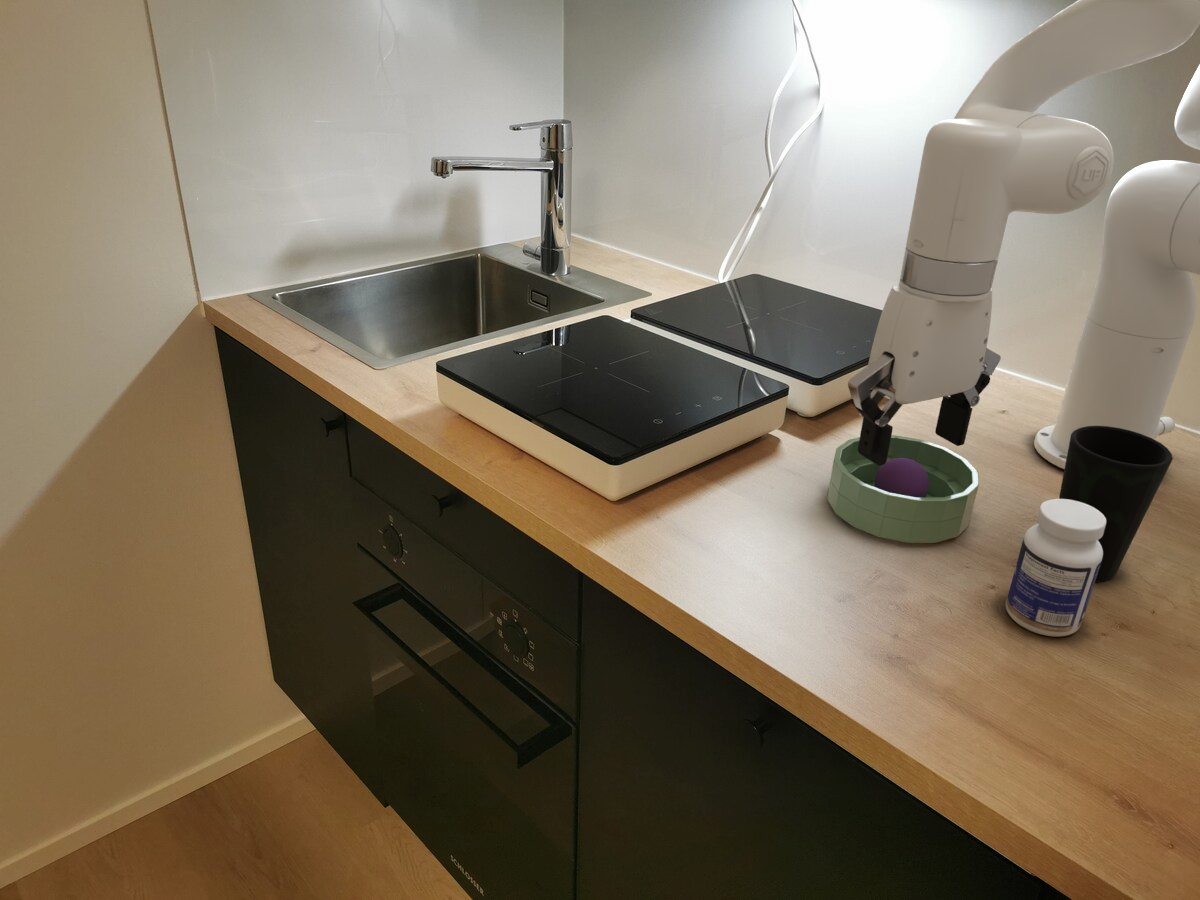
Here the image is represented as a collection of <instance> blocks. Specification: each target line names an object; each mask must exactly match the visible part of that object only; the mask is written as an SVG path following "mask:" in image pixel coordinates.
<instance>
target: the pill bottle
mask: <svg viewBox="0 0 1200 900" xmlns="http://www.w3.org/2000/svg"><path fill="white" fill-rule="evenodd" d="M1036 522H1037V523H1036V524H1034V525H1033V526H1030V528H1028V529H1027V530H1026V532H1025V534H1024V536H1023V539H1022V542H1021V545H1020V550H1019V554H1018V557H1017V560H1016V564H1015V567H1014V572H1013V575H1012V579H1011V582H1010V586H1009V589H1008V593H1007V596H1006V600H1005V610H1006V611H1007V614H1008V615H1009V617H1010V618H1011V619H1012V620H1013V621H1014V622H1016V624H1018V625H1019V626H1021V627H1022V628H1023V629H1025V630H1028V631H1030V632H1032V633H1035V634H1037V635H1038V634H1039V635H1042V636H1047V637H1067V636H1070V635H1072V634H1074V633H1076V632H1077V631H1078V630H1079V629H1080V627H1081V626H1082V623H1083V620H1084V617H1085V614H1086V611H1087V608H1088V605H1089V602H1090V599H1091V595H1092V593H1093V589H1094V586H1095V583H1096V582H1095V580H1096V577H1097V574H1098V571H1099V568H1100V565H1101V561H1102V557H1103V549H1102V546H1101V544H1100V543H1099V541H1098V540H1099V539H1100V538H1101V537H1102V536H1103V533H1104V529H1105V526H1106V518H1105V516H1104V515H1103V514H1102V513H1101V512H1100V511H1098V510H1097V509H1095V508H1094V507H1092V506H1090V505H1087V504H1085V503H1082V502H1078V501H1074V500H1069V499H1059V498H1052V499H1048V500H1045V501H1043V502H1042V503H1041V504H1040V506H1039V509H1038V512H1037V515H1036Z"/></svg>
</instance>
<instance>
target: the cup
mask: <svg viewBox="0 0 1200 900" xmlns="http://www.w3.org/2000/svg"><path fill="white" fill-rule="evenodd" d="M1173 459H1174V458H1173V454H1172V452H1171V451H1170V450H1169V448H1168V447H1167V446H1165V445H1164V444H1163V443H1162V442H1159V441H1158V440H1156V439H1152V438H1150V437H1148V436H1145V435H1143V434H1140V433H1137V432H1133V431H1130V430H1126V429H1122V428H1116V427H1109V426H1086V427H1081V428H1079V429H1077V430H1075V431H1073V433H1072V434H1071V437H1070V442H1069V448H1068V453H1067V458H1066V464H1065V469H1063V475H1062V479H1061V480H1062V481H1061V485H1060V491H1059V496H1058V499H1069V500H1074V501H1078V502H1082V503H1085V504H1087V505H1090V506H1092V507H1094V508H1095V509H1097V510H1098V511H1100V512H1101V513H1102V514H1103V515H1104V516H1105V518H1106V526H1105V529H1104V533H1103V536H1102V537H1101V538H1100V539H1099V540H1098V541H1099V543H1100V544H1101V546H1102V549H1103V557H1102V561H1101V565H1100V568H1099V571H1098V574H1097V577H1096V580H1095V583H1104V582H1108V581H1111V580H1112V579H1114V578H1115V577H1116V575H1117V573H1118V570H1119V569H1120V567H1121V564H1122V563H1123V561H1124V558H1125V556H1126V554H1127V552H1128V551H1129V549H1130V546H1131V544H1132V542H1133V540H1134V539H1135V536H1136V534H1137V532H1138V530H1139V529H1140V526H1141V524H1142V522H1143V520H1144V519H1145V517H1146V514H1147V512H1148V510H1149V508H1150V506H1151V504H1152V502H1153V500H1154V498H1155V496H1156V494H1157V492H1158V490H1159V488H1160V486H1161V484H1162V483H1163V479H1164V478H1165V476H1166V474H1167V471H1168V470H1169V467H1171V464H1172V462H1173Z"/></svg>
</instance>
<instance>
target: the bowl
mask: <svg viewBox="0 0 1200 900" xmlns="http://www.w3.org/2000/svg"><path fill="white" fill-rule="evenodd" d="M859 440H860V436H859V437H854V438H850V439H848V440H846V441H844V443H842V444H840V445H839V446H838V447H836V449H835V453H834V457H833V462H832V467H831V468H832V469H831V473H830V474H831V475H830V480H829V485H828V492H827V496H826V500H827V501H828V503H829V505H830V507H831V509H832V511H833V512H834V513H835V515H837V516H838V517H840V519H842V520H844V521H845V522H846V523H847V524H849V525H851V526H852V527H854V528H855V529H857V530H860V531H863V532H865V533H867V534H870V535H872V536H875V537H877V538H882V539H887V540H891V541H896V542H903V543H907V544H908V543H909V544H929V543H930V544H932V543H933V544H934V543H935V544H936V543H940V542H943V541H947V540H950V539H951V540H952V539H954V538H957V537H959V536H960V535H961V534H962V533H963V532H964V531H965V530H966V529H967V528H968V527H969V525H970V522H971V518H972V514H973V510H974V506H975V502H976V498H977V495H978V491H979V487H980V480H979V472H978V470H977V468H975V467H974V466H973V465H972V464H971V463H970V461H969V460H968V459H966V458H965V457H963V456H961V455H959V454H958V453H956V452H955V451H952V450H950V449H949V448H947V447H945V446H942V445H939V444H935V443H933V442H929V441H927V440H923V439H920V438H914V437H908V436H902V435H895V434H892V435H891V440H890V446H889V451H888V456H887V461H886V462H888V461H889V460H892V459H895V458H908V459H911V460H914V461H916V462H917V463H919V464H920V465H921V466H922V467H923V468H924V470H925V471H926V473H927V475H928V479H929V489H928V493H927V495H926V497H925V498H917V497H911V496H906V495H900V494H895V493H889V492H887V491H884V490H881V489H879V488H876V487H875V477H876V474H877V472H878V470H879V469H880V467H881V466H882V465H880V466H878V465H877V464H875V463H873V462H872V461H870V460H869V459H867V458H866V457H864V456H862V455H861V454H859V452H858V445H859Z"/></svg>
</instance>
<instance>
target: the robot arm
mask: <svg viewBox="0 0 1200 900" xmlns="http://www.w3.org/2000/svg"><path fill="white" fill-rule="evenodd" d="M1199 26H1200V0H1076V1H1075V2H1073V3H1072V4H1070V5H1068V6H1067V7H1065V8H1064V9H1062V10H1060V11H1059V12H1057V13H1056V14H1054V15H1053V16H1052V17H1050V18H1048V19H1047V20H1046V21H1044V22H1043V23H1042V24H1040V25H1038V27H1036V28H1034V29H1033V30H1031V31H1030V32H1029V33H1027V34H1026V35H1024V36H1023V37H1021V38H1020V39H1018V40H1017V41H1016V42H1015V43H1013V44H1011V46H1009V47H1008V48H1007V49H1006V50H1005V51H1004V52H1003V53H1001V54H1000V56H999V57H998V58H997V59H996V60H995V61H994V62H993V63H992V64H991V65H990V66H989V67H988V69H987V70H986V71H985V72H984V73H983V75H982V76H981V78H980V79H979V80H978V82H977V83H976V85H975V86H974V87H973V89H972V90H971V92H970V93H969V94H968V96H967V98H966V99H965V100H964V101H963V103H962V105H961V106H960V108H959V109H958V110H957V112H956V113H955V116H954V117H953V118H951V119H950V118H949V119H945V120H940V121H938V122H936V123H935V124H934V125H933V126H932V127H931V128H930V129H929V131H928V133H927V135H926V137H925V140H924V146H923V150H922V156H921V160H920V167H919V173H918V178H917V183H916V188H915V195H914V201H913V206H912V212H911V216H910V222H909V226H908V228H909V229H908V232H907V238H906V243H905V248H904V255H903V260H902V266H901V271H900V277H899V283H898V284H896V285H893V286H892V287H891V289H890V290H889V293H888V295H887V298H886V300H885V303H884V304H883V305H884V306H883V308H882V311H881V314H880V317H879V320H878V322H877V323H878V324H877V327H876V329H875V334H874V337H873V342H872V346H871V350H870V354H869V359H868V364H867V366H865V367H864V368H862V370H860V371H859V372H857V373H856V374H855V375H854V376H852V377H851V378H850V379H849V380H848V382H847V387H848V391H849V394H850V397H851V399H852V400H851V404H852V405H853V407H854V408H855V409H856V411H857V413H858V415H859V416H861V417H862V423H861V429H860V435H859V437H860V440H859V445H858V452H859V454H861V455H862V456H864V457H866V458H867V459H869V460H870V461H872V462H873V463H875V464H877V465H878V466H880V465H884V464H885V463H886V461H887V456H888V451H889V446H890V440H891V435H893V429H894V428H893V426H892V425H891V424H889V423H890V422H891V420H892V419H893V417H894V416H895V415H896V414H897V412H898V411H899V410H900V409H901V408H902V406H903V405H910V404H911V405H912V404H916V403H920V402H921V403H922V402H925V401H930V400H934V399H939V398H942V400H941V403H940V408H939V411H938V416H937V421H936V425H935V430H934V432H935V435H937V436H938V437H940V438H942V439H944V440H945V441H947V442H949V443H951V444H953V445H955V446H957V447H960V446H964V445H965V441H966V439H967V438H966V437H967V434H968V430H969V425H970V421H971V417H972V412H973V408H974V407H977V405H978V404H979V402H980V401H981V397H980V395H981V393H982V392H983V391H984V390H985V389H986V388H987V387H988V385H989V384H990V382H991V376H992V375H993V374H994V372H995V370H996V368H997V367H998V365H999V364H1000V361H1001V360H1002V359H1001V355H1000V354H998V353H996V352H995V351H993V350H991V349H989V348H987V347H988V341H989V334H990V328H991V319H992V311H993V308H992V307H993V289H992V287H993V283H994V279H995V275H996V269H997V266H998V263H999V262H998V261H999V257H1000V253H1001V249H1002V244H1003V241H1004V236H1005V233H1006V232H1005V231H1006V227H1007V223H1008V219H1009V215H1010V214H1011V213H1013V212H1021V213H1031V214H1032V213H1033V214H1041V215H1061V214H1066V213H1071V212H1074V211H1076V210H1079V209H1081V208H1083V207H1085V206H1086V205H1088V204H1089V203H1091V202H1092V201H1093V200H1094V199H1096V198H1097V197H1098V196H1099V195H1100V194H1101V193H1102V192H1103V190H1104V189H1105V187H1106V185H1107V184H1108V182H1109V180H1110V178H1111V176H1112V173H1113V169H1114V166H1115V165H1114V162H1115V157H1114V150H1113V146H1112V144H1111V141H1110V140H1109V139H1108V137H1107V136H1106V135H1105V134H1104V132H1102V130H1100V129H1099V128H1097V127H1096V126H1093V125H1092V124H1089V123H1087V122H1085V121H1081V120H1077V119H1073V118H1072V119H1071V118H1066V117H1060V116H1053V115H1048V114H1045V113H1038V112H1037V110H1038V109H1040V107H1041V106H1043V105H1044V104H1045V103H1047V102H1048V101H1049V100H1050V99H1052V98H1053V97H1055V96H1057V95H1058V94H1060V93H1061V92H1063V91H1064V90H1066V89H1068V88H1070V87H1071V86H1074V85H1076V84H1078V83H1080V82H1083V81H1085V80H1087V79H1090V78H1094V77H1096V76H1100V75H1102V74H1107V73H1110V72H1113V71H1116V70H1120V69H1123V68H1127V67H1129V66H1133V65H1136V64H1140V63H1142V62H1145V61H1148V60H1151V59H1154V58H1156V57H1160V56H1162V55H1164V54H1168V53H1169V52H1172V51H1174V50H1176V49H1177V48H1179V47H1181V46H1182V45H1184V44H1185V43H1186V42H1187V41H1188V40H1189V39H1190V38H1191V37H1192V36H1193V34H1195V32H1196V30H1197V29H1198V28H1199ZM1174 131H1175V133H1176V136H1177V138H1178V139H1179V140H1180V141H1181V142H1182V143H1183V144H1184V145H1186V146H1188V147H1190V148H1192V149H1195V150H1198V151H1200V64H1199V65H1198V66H1197V68H1196V71H1195V72H1194V74H1193V76H1192V78H1191V80H1190V82H1189V84H1188V85H1187V88H1186V89H1185V91H1184V94H1183V96H1182V98H1181V100H1180V102H1179V105H1178V108H1177V110H1176V112H1175V118H1174ZM1104 212H1105V213H1104V219H1103V229H1102V230H1103V231H1102V246H1101V254H1100V262H1099V268H1098V272H1097V277H1096V281H1095V285H1094V288H1093V292H1092V296H1091V299H1090V302H1089V307H1088V310H1087V313H1086V316H1085V320H1084V323H1083V327H1082V331H1081V334H1080V337H1079V340H1078V343H1077V347H1076V351H1075V354H1074V358H1073V361H1072V365H1071V368H1070V371H1069V375H1068V379H1067V382H1066V385H1065V389H1064V391H1063V392H1064V393H1063V396H1062V399H1061V403H1060V406H1059V409H1058V412H1057V416H1056V420H1055V424H1050V425H1048V426H1044V427H1042V428H1041V429H1038V431H1037V433H1036V434H1035V438H1034V441H1033V445H1034V448H1035V450H1036V452H1037V453H1038V454H1039V455H1040V456H1041V457H1042V458H1043V459H1044V460H1046V461H1048V462H1049V464H1050V463H1051V464H1052V465H1054V466H1056V467H1057V468H1060V469H1062V470H1064V469H1065V464H1066V458H1067V453H1068V448H1069V442H1070V437H1071V434H1072V433H1073V431H1075V430H1077V429H1079V428H1081V427H1086V426H1109V427H1116V428H1122V429H1126V430H1130V431H1133V432H1137V433H1140V434H1143V435H1145V436H1148V437H1150V438H1152V439H1154V440H1156V438H1157V437H1158V436H1161V435H1166V434H1169V433H1172V432H1174V430H1175V427H1176V424H1175V421H1174V419H1173V418H1172V417H1170V416H1168V415H1167V416H1165V415H1164V416H1162V415H1163V412H1164V409H1165V406H1166V403H1167V400H1168V398H1169V394H1170V392H1171V389H1172V386H1173V383H1174V380H1175V377H1176V374H1177V372H1178V368H1179V365H1180V364H1181V360H1182V357H1183V354H1184V351H1185V349H1186V346H1187V343H1188V340H1189V338H1190V334H1191V332H1192V329H1193V326H1194V323H1195V319H1196V315H1197V307H1198V306H1197V301H1198V300H1197V299H1198V298H1197V292H1196V286H1195V282H1194V279H1193V275H1192V273H1193V274H1195V275H1199V276H1200V163H1197V162H1196V163H1195V162H1191V161H1186V160H1185V161H1184V160H1174V159H1173V160H1171V159H1169V160H1168V159H1164V160H1161V159H1160V160H1153V161H1149V162H1145V163H1143V164H1140V165H1138V166H1136V167H1133V168H1132V169H1131V170H1129V171H1127V172H1126V173H1125V174H1124V175H1123V176H1122V177H1121V178H1120V179H1119V180H1118V181H1117V183H1116V184H1115V186H1114V187H1113V188H1112V190H1111V193H1110V195H1109V198H1108V200H1107V203H1106V207H1105V211H1104ZM890 388H892V389H893V390H894V391H893V390H891V389H890ZM871 390H872V391H871ZM884 398H885V399H887V400H888V401H887V402H886V404H884V406H883V407H882V408H880V407H879V405H880V403H881V402H882V400H883V399H884Z"/></svg>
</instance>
